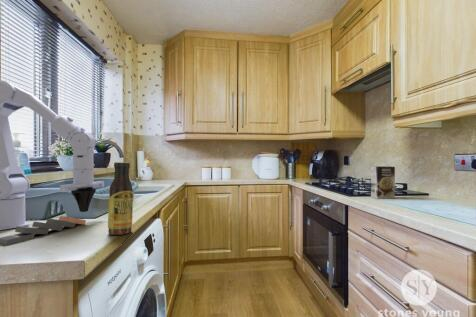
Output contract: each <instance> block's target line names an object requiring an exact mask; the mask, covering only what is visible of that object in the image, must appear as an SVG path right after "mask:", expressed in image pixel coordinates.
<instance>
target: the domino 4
mask: <svg viewBox="0 0 476 317" xmlns="http://www.w3.org/2000/svg"><path fill="white" fill-rule="evenodd" d="M45 223H48V224H54V225H60V226H63V227H65V228H73V227H74V228H75V226H76V224H75V223H72V222H67V221H61V220H59V219H54V218H47V219H46V222H45ZM74 228H73V229H74Z"/></svg>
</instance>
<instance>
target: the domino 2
mask: <svg viewBox="0 0 476 317" xmlns="http://www.w3.org/2000/svg"><path fill="white" fill-rule="evenodd" d="M49 231H50V229H44V228H38V227H32V226H23V227H21V226H16V228H14V232H16V233H18V234H19V233H29V234H34V235H48V233H49Z"/></svg>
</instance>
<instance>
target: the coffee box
mask: <svg viewBox="0 0 476 317" xmlns="http://www.w3.org/2000/svg"><path fill="white" fill-rule="evenodd" d="M395 170H396V167H395V166H388V165H387V166H377V165H376V166H373V165H371V170H370V174H371V176H370V180H371V181H370V197H371V198H374V199H377V200H378V199H379V200H381V199H384V200H386V199H390V200H391V199H392V200H393V199H394V200H395V198H396V191H395V190H396V189H395V188H396V184H395V183H396V177H395V176H396V171H395Z"/></svg>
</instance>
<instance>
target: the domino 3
mask: <svg viewBox="0 0 476 317" xmlns="http://www.w3.org/2000/svg"><path fill="white" fill-rule="evenodd" d="M31 227H36V228H44V229H49V230H51V231H59V232H63V229H64V226H60V225H54V224H48V223H46V222H42V221H41V222H40V221H33V223H32V224H31Z"/></svg>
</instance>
